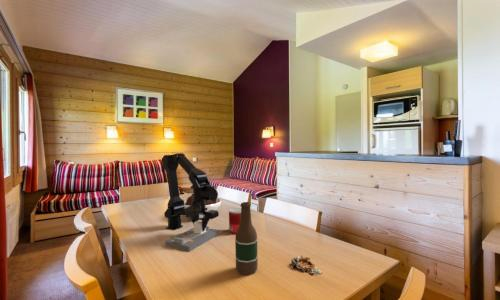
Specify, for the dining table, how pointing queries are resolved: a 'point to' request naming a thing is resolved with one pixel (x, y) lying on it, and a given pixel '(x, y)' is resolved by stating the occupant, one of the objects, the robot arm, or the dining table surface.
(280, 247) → the dining table surface
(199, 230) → the fader tab
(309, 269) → the pastry
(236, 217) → the canned food
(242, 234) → the beer bottle
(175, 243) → the console plate
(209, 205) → the white serving bowl
